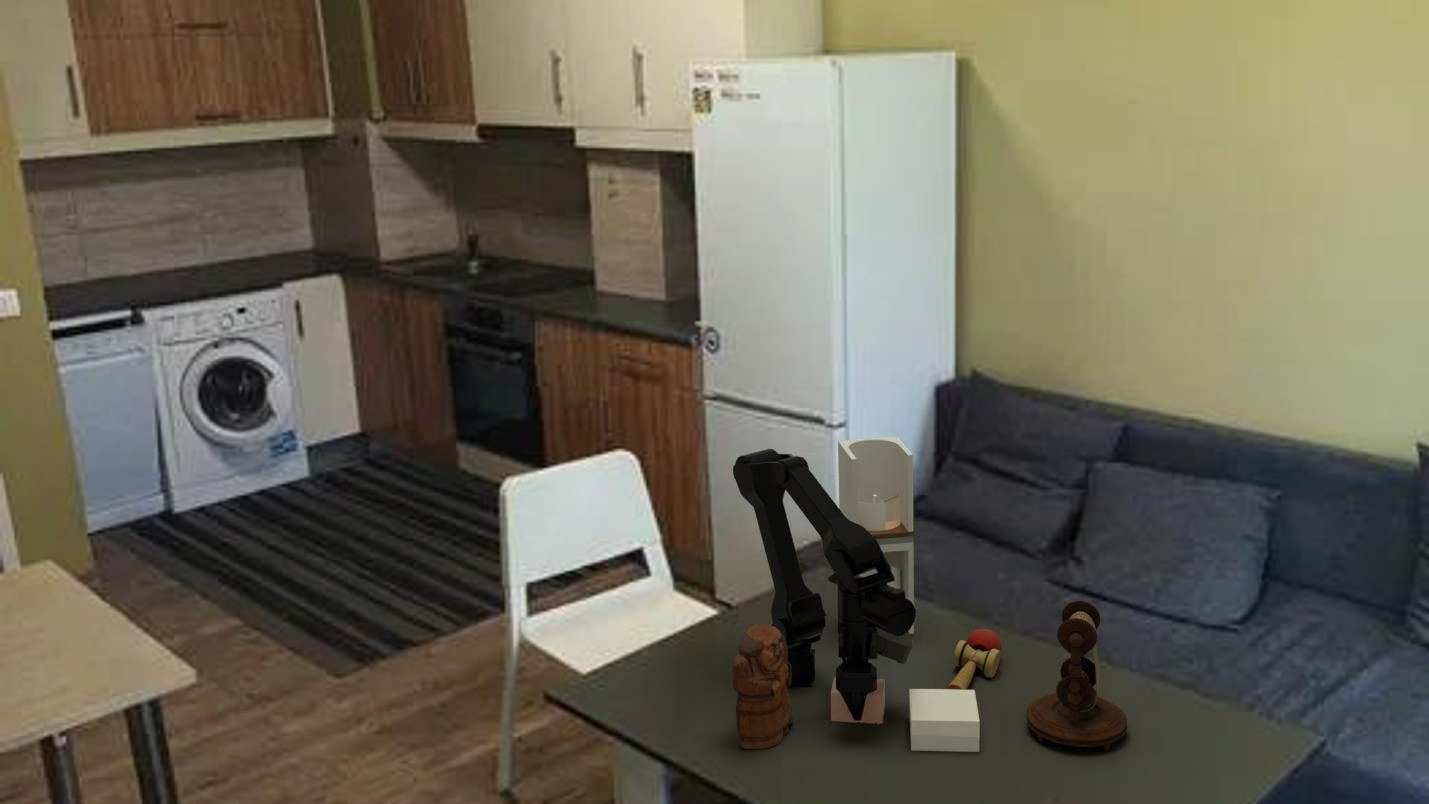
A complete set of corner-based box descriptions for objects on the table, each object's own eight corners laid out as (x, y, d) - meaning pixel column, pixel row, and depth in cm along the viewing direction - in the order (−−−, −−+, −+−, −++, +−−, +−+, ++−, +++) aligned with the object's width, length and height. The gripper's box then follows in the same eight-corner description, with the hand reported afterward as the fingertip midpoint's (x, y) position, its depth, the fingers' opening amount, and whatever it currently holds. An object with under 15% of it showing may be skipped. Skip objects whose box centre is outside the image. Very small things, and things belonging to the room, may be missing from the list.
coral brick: (831, 721, 202) (830, 692, 201) (834, 705, 207) (834, 676, 206) (882, 724, 201) (882, 695, 199) (884, 708, 206) (884, 679, 205)
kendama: (984, 712, 206) (1014, 652, 220) (975, 678, 204) (1007, 620, 218) (938, 710, 210) (971, 652, 224) (930, 677, 208) (963, 620, 222)
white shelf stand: (841, 622, 237) (837, 440, 229) (897, 618, 238) (896, 436, 230) (854, 649, 226) (851, 459, 218) (913, 644, 227) (913, 454, 219)
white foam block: (911, 750, 192) (911, 720, 191) (909, 717, 202) (909, 688, 201) (979, 752, 191) (979, 721, 190) (974, 719, 201) (974, 689, 199)
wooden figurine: (770, 756, 192) (766, 645, 188) (731, 748, 195) (726, 639, 191) (800, 720, 203) (797, 614, 198) (763, 713, 205) (759, 608, 201)
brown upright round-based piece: (1123, 762, 187) (1129, 635, 182) (1020, 748, 192) (1022, 624, 187) (1129, 714, 200) (1134, 595, 195) (1032, 702, 205) (1034, 585, 200)
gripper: (910, 641, 190) (911, 736, 194) (907, 591, 208) (908, 679, 212) (834, 640, 191) (836, 735, 195) (838, 590, 209) (840, 678, 213)
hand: (858, 705), depth 204 cm, fingers open, 9 cm apart
